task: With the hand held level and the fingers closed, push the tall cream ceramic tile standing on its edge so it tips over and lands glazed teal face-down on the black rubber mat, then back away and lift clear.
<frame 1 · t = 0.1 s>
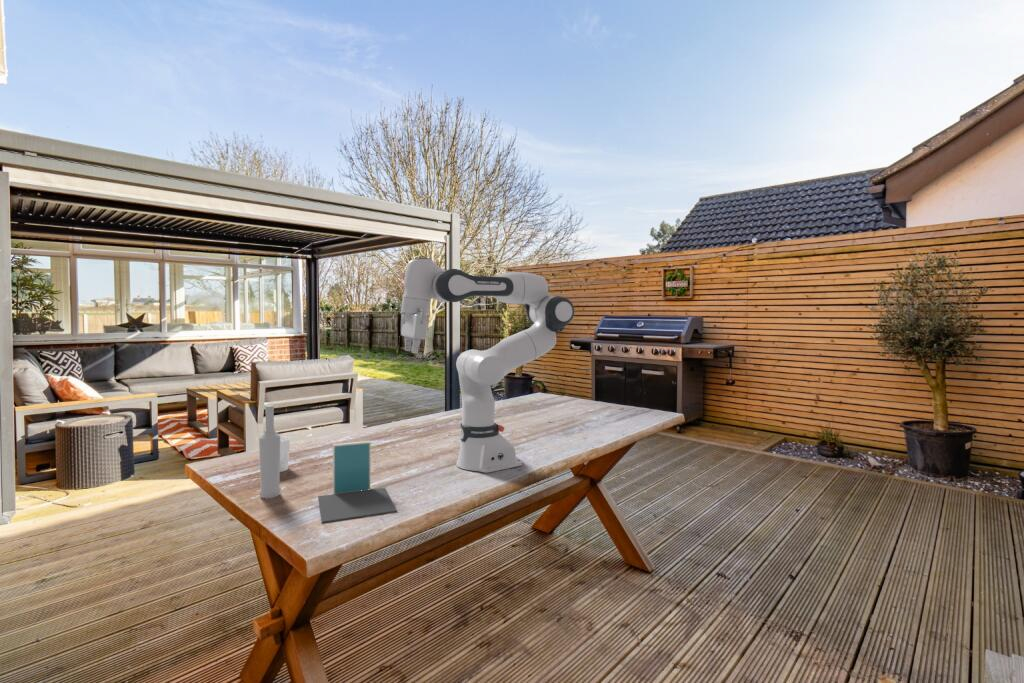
hand: (411, 352, 151), 39 cm above the table, tool pointing down, fingers open, 8 cm apart
bottle: (270, 496, 132), on the table
tile: (351, 491, 136), on the table
white cup: (276, 470, 153), on the table
mat: (356, 504, 127), on the table
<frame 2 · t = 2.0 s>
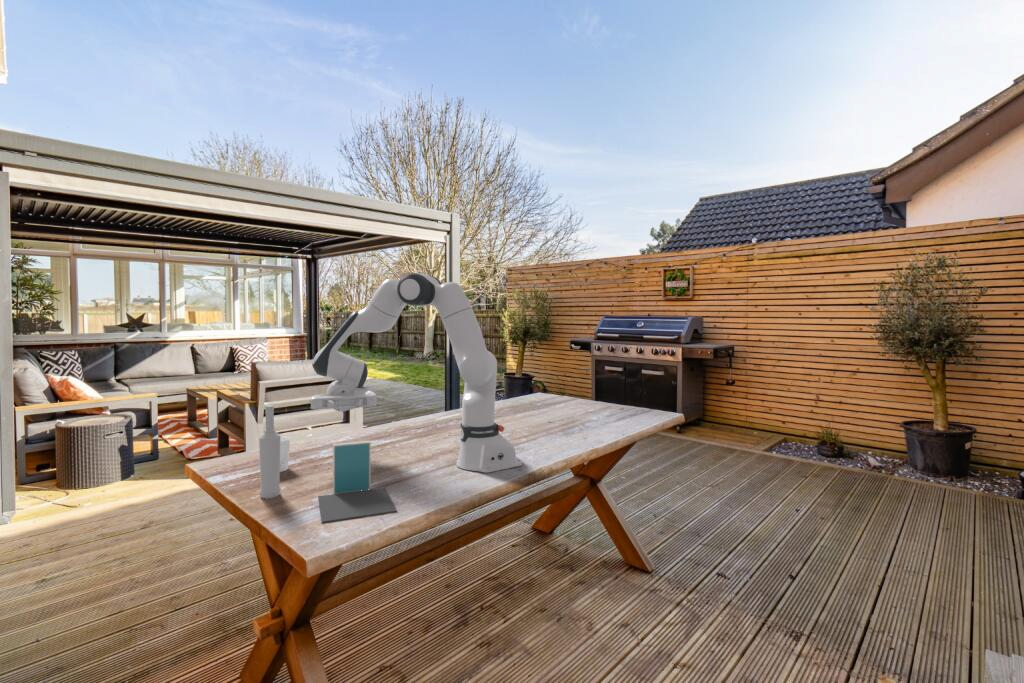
hand: (346, 405, 149), 22 cm above the table, tool horizontal, fingers open, 5 cm apart
nothing on the table moved.
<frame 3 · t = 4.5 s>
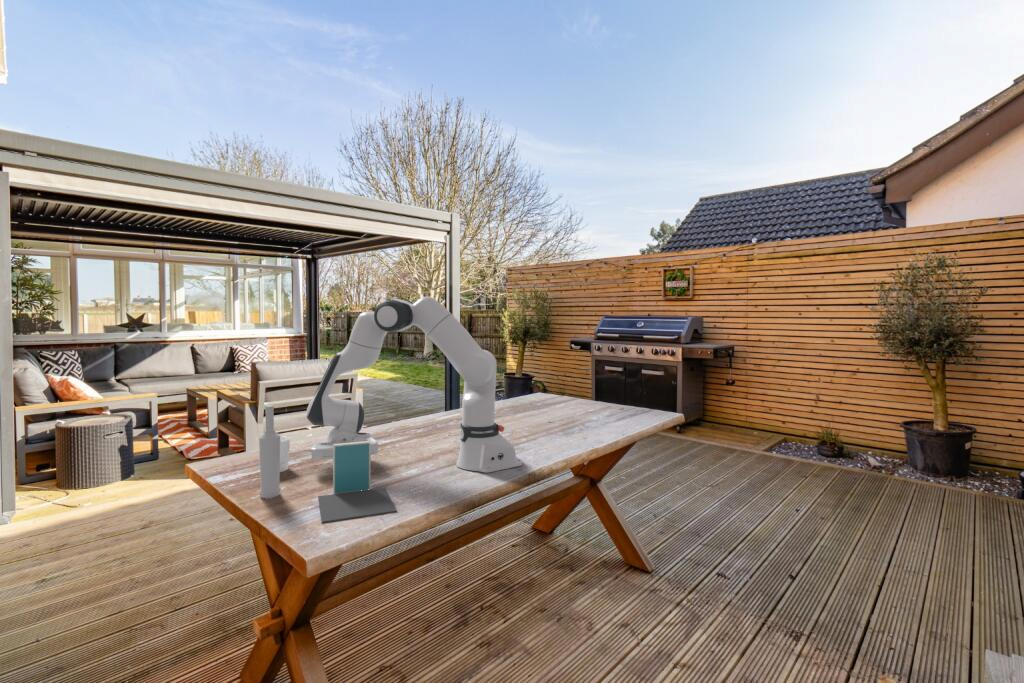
hand: (347, 455, 147), 7 cm above the table, tool horizontal, fingers closed
nothing on the table moved.
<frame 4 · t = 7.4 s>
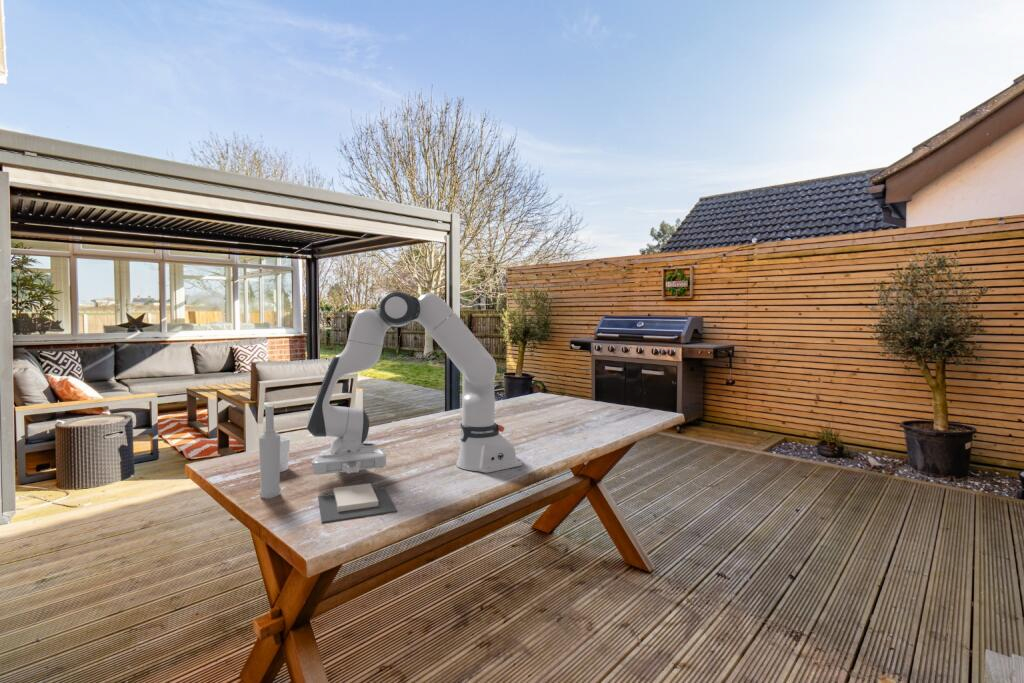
hand: (353, 470, 133), 7 cm above the table, tool horizontal, fingers closed
tile: (352, 488, 136), point 1 cm above the table, tilted 90°, touching mat
everything else where it was.
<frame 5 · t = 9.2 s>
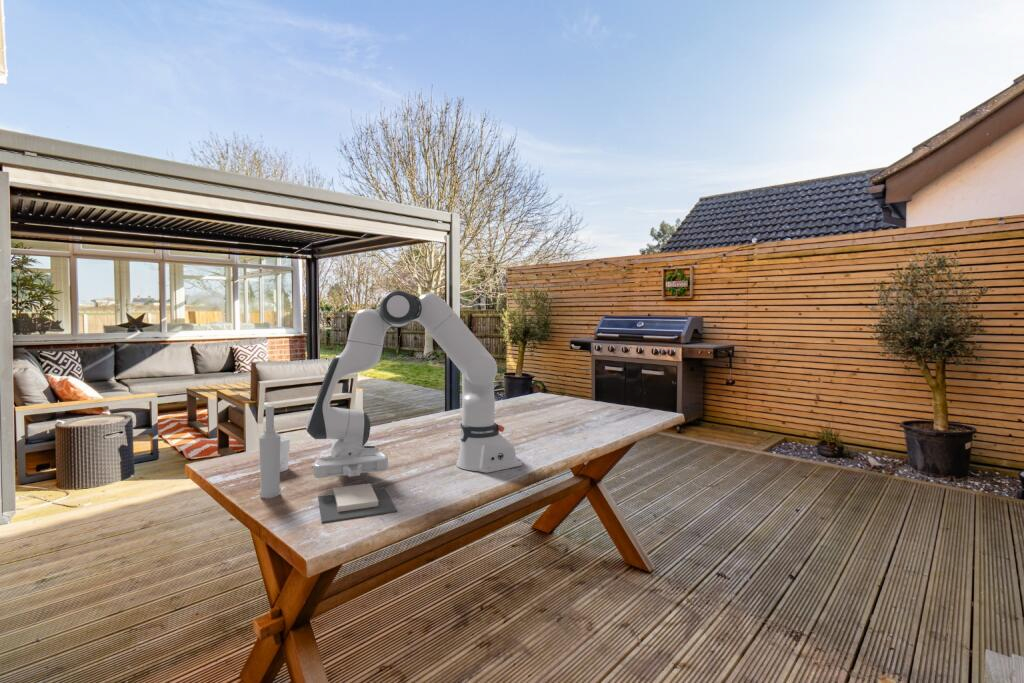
hand: (354, 473, 131), 7 cm above the table, tool horizontal, fingers closed
nothing on the table moved.
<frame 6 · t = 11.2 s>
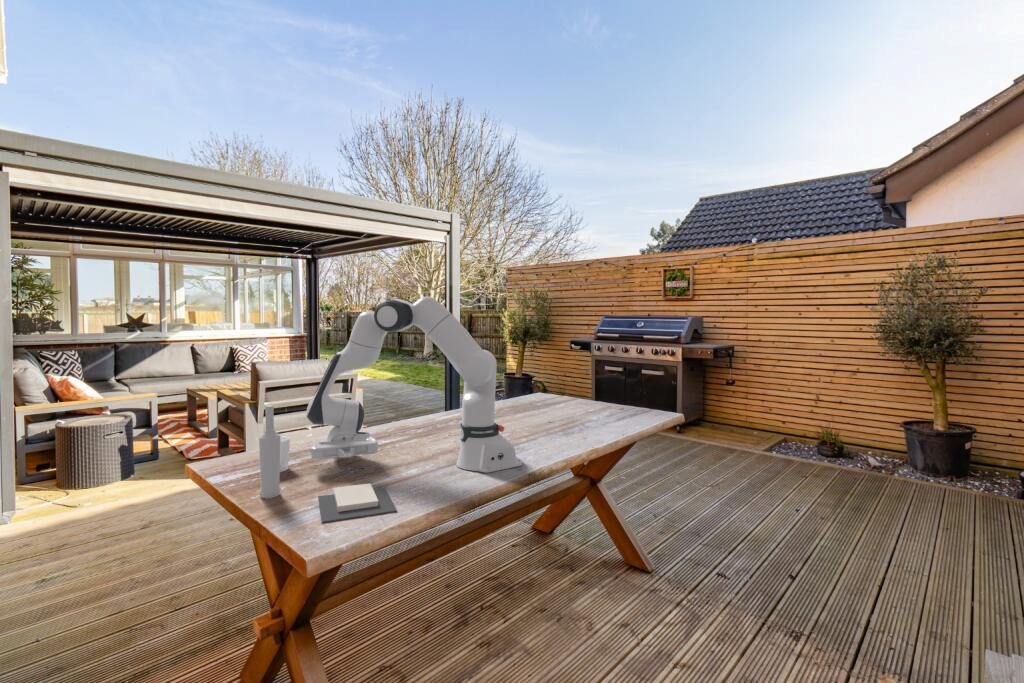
hand: (347, 455, 147), 7 cm above the table, tool horizontal, fingers closed
nothing on the table moved.
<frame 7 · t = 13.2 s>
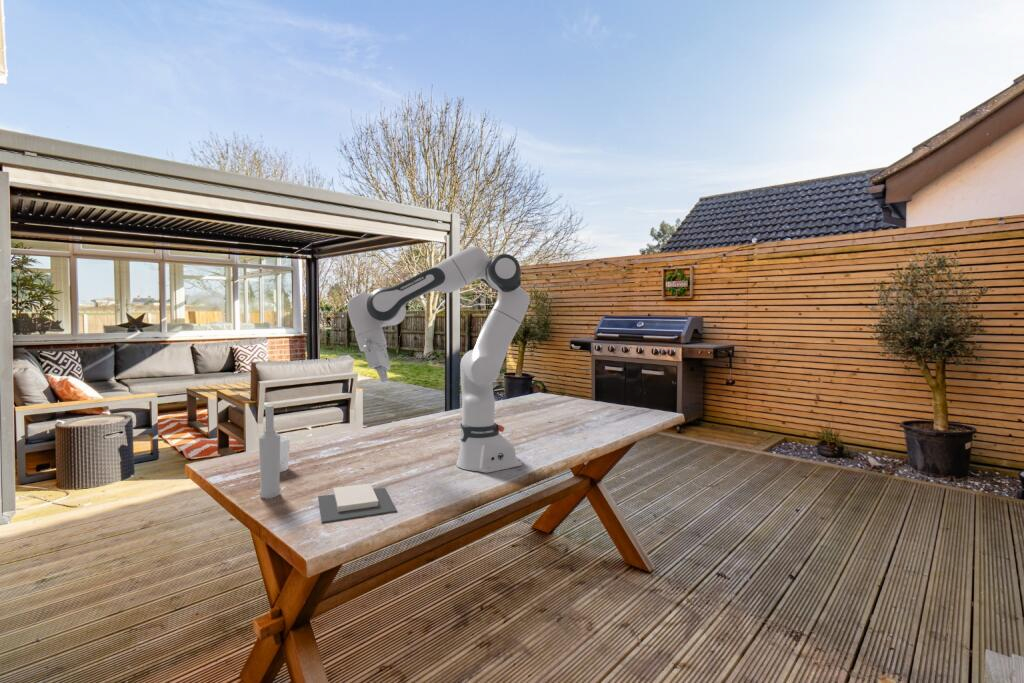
hand: (385, 382, 155), 29 cm above the table, tool tilted 25°, fingers closed
nothing on the table moved.
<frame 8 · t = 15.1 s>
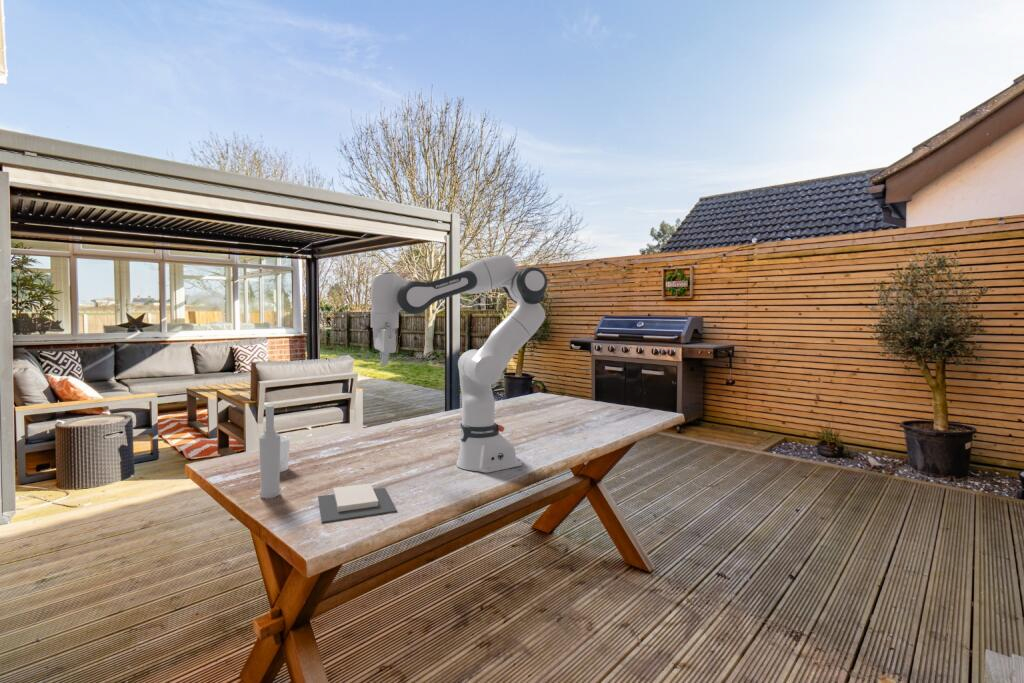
hand: (384, 364, 156), 34 cm above the table, tool pointing down, fingers closed
nothing on the table moved.
at the end: tile tilted 90°; tile inside the target area (2.2 cm from its centre), point 1.2 cm above the table; tile touching mat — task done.
